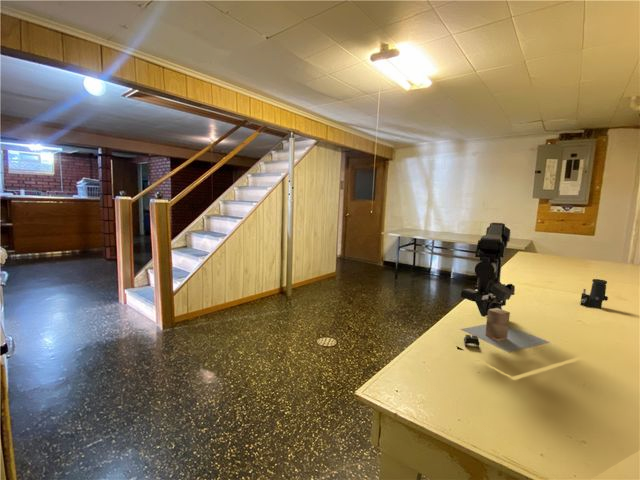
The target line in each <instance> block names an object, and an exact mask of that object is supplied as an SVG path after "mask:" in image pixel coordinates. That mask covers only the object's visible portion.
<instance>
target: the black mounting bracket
mask: <svg viewBox="0 0 640 480" xmlns="http://www.w3.org/2000/svg"><path fill="white" fill-rule="evenodd" d="M479 340H480V338H478V337H477V336H473V335H471V334H465V336H464V338H463V344H464V347H465V348H469V346H468V345H469V344H472V345H474V346H475V347H474V348H475V349H476V348H477V349H478V350H479V349H480V341H479ZM456 350H459V351H464V349H463V348H461V347H459V346H457V345H456Z"/></svg>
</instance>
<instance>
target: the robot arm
mask: <svg viewBox="0 0 640 480" xmlns="http://www.w3.org/2000/svg"><path fill="white" fill-rule="evenodd" d="M510 241H511V228H508V226H506V223H503V222H490V224H489V226H488V227H486V231H485V234H484V235H482V236H481V237H480V238H479V239H478V241H477V246H476V250H475V254H474V255H475V258H479V261H478V262H477V263H476V265H475V266H474V273H475V275H474V278H475V279H477V283H476V285H474V286H473V289H472V288H463V289H462V290H460V294H459V297H460V298H462V299H465V300H467V301H471V302H474V303H475V304H476V306H477V310H478V311H479V313H480V315H481V317H483V318H484V317H486V316H487V314H488V310H489V309H494V308H499V309H502V310H503V308H502V307H504V306H506V304H507V300H510V299H511V297H512V296H514V295H515V291H516V290H515V285H514V284H513V283H507V284H505V283H502V282H501V275H502V274H501V273H502V261H503V258H504V256H505V250H506V248H507V247H508V243H509V242H510Z"/></svg>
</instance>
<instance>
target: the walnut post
mask: <svg viewBox="0 0 640 480" xmlns="http://www.w3.org/2000/svg"><path fill="white" fill-rule="evenodd" d="M510 315H511V312H510V311H507V310H504V309H503V308H502V309H499V308H494V309H489V310H488V314H487V315H486V316H487V317H486V323H485V324H486V334H485V335H486V336H488V337H490V338H493V339H495V340H497V341H499V340H504V339H507V334H508V326H510V325H509V324H510Z"/></svg>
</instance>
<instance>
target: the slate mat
mask: <svg viewBox="0 0 640 480" xmlns="http://www.w3.org/2000/svg"><path fill="white" fill-rule="evenodd" d="M486 324H487V323H485V324H480V325H475V326H470V327H464V328H460V330H461V331H462V332H465V333H467V334H468V335H470V336H477V337H478V339H479V340H482V341H484V342H486V343H488V344H491V345H493V346H494V347H496V348H498V349H501V350H503V351H506V352H507V353H514V352H518V351H521V350H525V349H529V348H532V347H537V346H540V345H544V344H545V345H546V344H549V343H550V341H548V340H546V339H543V338H541V337H538V336H535V335H533V334H530V333H528V332H525V331H523V330H520V329H519V328H515V327H512V326H510V325H508V334H507V339H504V340H499V341H497V340H495V339H493V338H490V337H488V336H486V335H485V334H486Z"/></svg>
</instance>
